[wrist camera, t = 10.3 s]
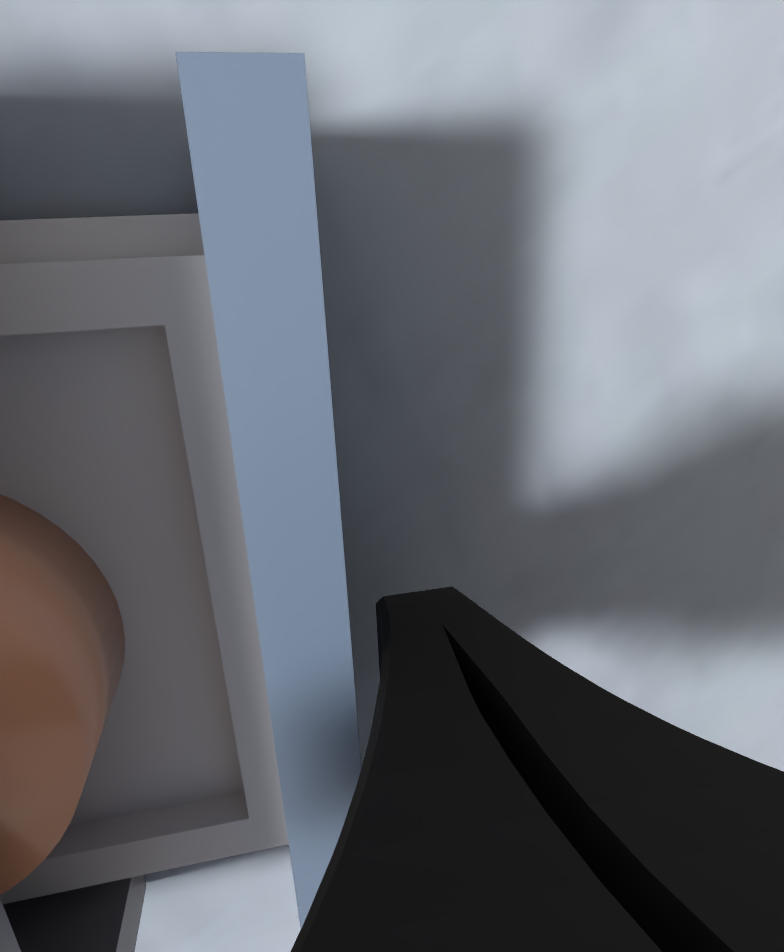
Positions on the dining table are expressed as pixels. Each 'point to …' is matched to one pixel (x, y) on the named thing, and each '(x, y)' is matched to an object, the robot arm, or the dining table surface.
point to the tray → (196, 491)
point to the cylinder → (49, 682)
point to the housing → (76, 919)
